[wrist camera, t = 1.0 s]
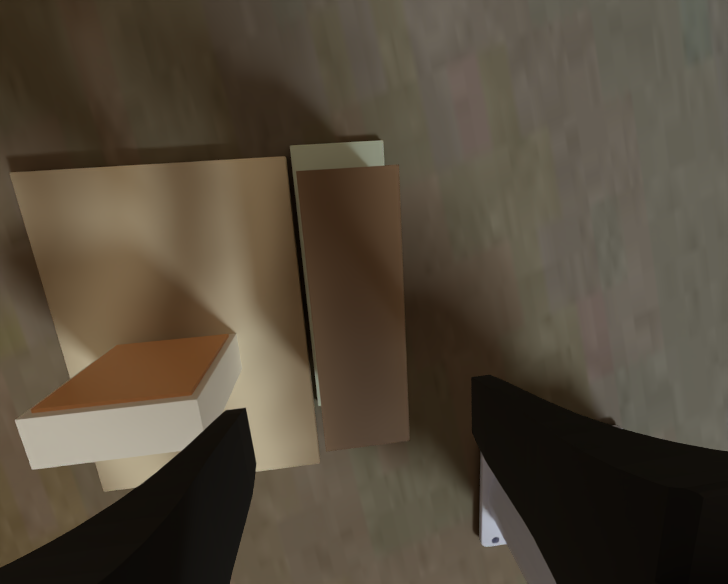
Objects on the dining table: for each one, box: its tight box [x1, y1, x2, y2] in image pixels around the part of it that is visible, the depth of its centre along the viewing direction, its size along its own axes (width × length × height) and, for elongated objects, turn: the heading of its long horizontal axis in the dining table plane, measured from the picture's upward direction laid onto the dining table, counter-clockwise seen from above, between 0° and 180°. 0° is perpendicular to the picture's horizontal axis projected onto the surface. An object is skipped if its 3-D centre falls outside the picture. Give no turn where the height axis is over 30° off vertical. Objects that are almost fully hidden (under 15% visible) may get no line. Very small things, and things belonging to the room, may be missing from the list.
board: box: [10, 156, 320, 492], centre depth 20 cm, size 12×17×1 cm
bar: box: [296, 165, 410, 452], centre depth 17 cm, size 4×11×6 cm, turn 4°
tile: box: [15, 334, 242, 470], centre depth 16 cm, size 6×2×6 cm, turn 94°
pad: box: [290, 140, 384, 406], centre depth 20 cm, size 4×14×1 cm, turn 4°
